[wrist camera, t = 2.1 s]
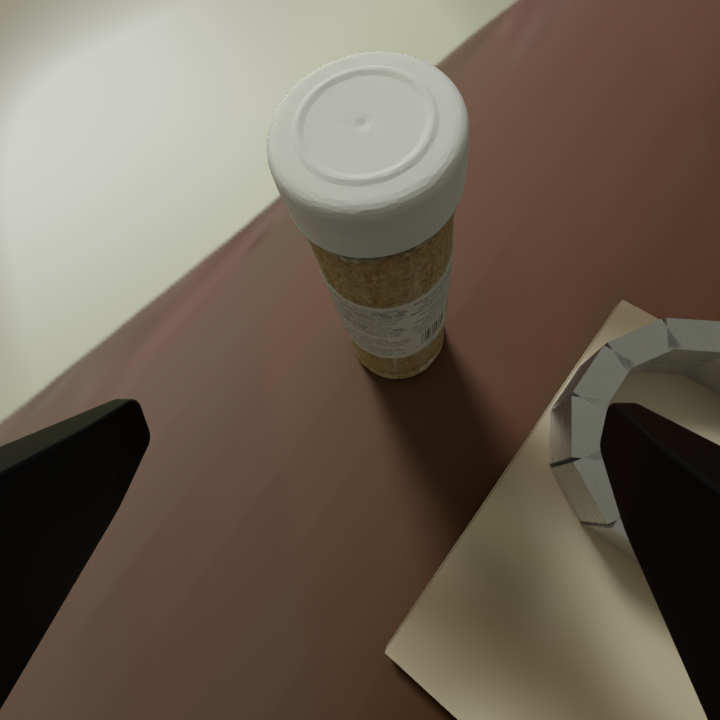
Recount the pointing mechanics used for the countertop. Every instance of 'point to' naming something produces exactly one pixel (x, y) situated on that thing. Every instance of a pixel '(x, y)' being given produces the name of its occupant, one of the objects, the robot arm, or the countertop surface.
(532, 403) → the countertop surface
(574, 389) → the steel collar
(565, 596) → the birch board
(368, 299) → the sprinkles bottle
